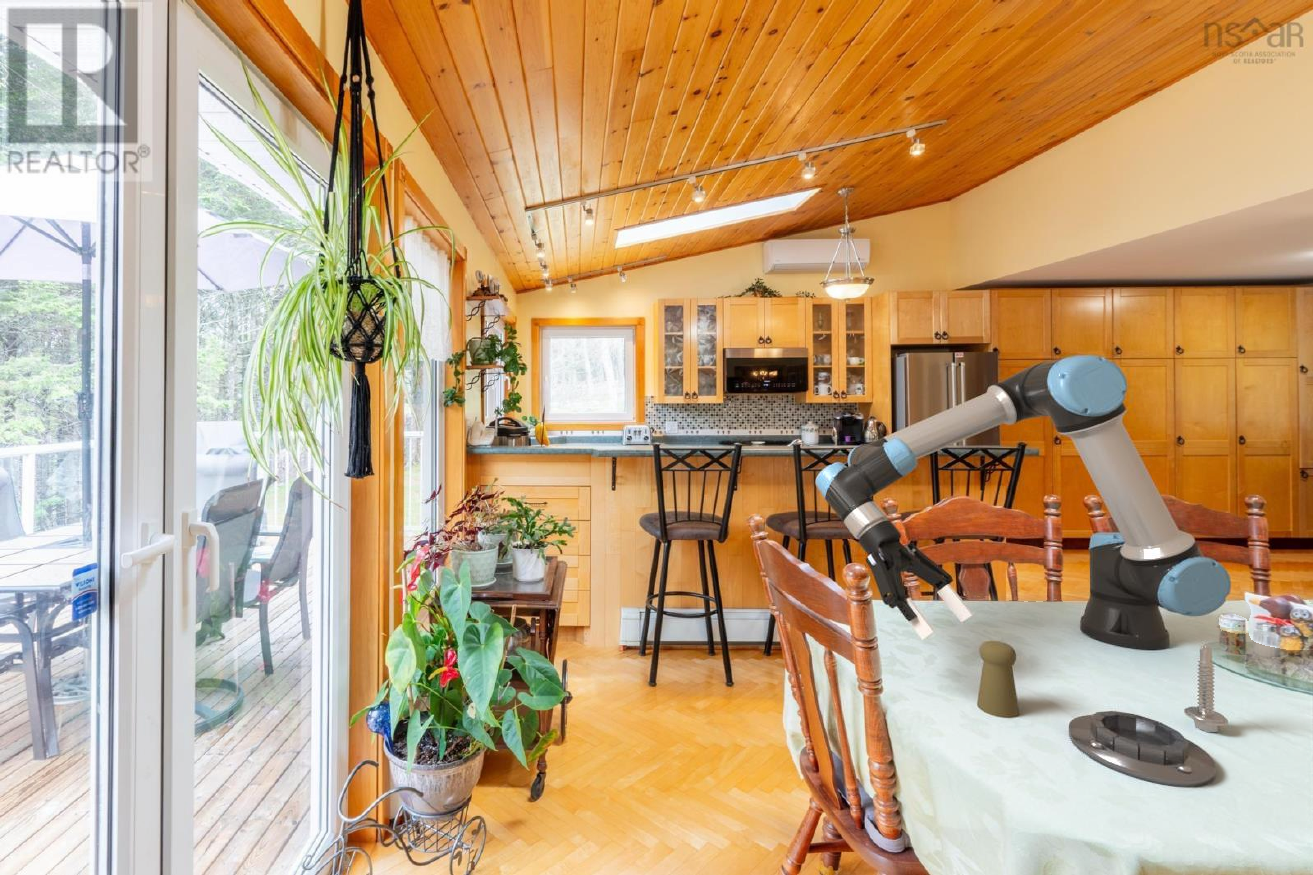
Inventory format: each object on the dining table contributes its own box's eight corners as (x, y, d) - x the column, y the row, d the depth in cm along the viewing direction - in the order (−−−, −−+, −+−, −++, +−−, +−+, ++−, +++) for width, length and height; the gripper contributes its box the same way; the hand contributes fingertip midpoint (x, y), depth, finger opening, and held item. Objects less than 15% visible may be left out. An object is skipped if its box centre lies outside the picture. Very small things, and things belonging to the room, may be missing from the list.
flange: (1134, 718, 90) (1134, 699, 90) (1250, 781, 74) (1250, 757, 74) (1042, 726, 88) (1042, 706, 88) (1140, 792, 72) (1141, 767, 72)
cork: (1019, 721, 90) (1019, 653, 89) (976, 711, 93) (975, 646, 93) (1018, 705, 95) (1018, 640, 94) (977, 696, 98) (977, 634, 98)
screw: (1185, 730, 86) (1182, 717, 90) (1230, 741, 83) (1225, 727, 87) (1186, 646, 86) (1183, 637, 90) (1230, 654, 83) (1225, 644, 87)
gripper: (895, 533, 121) (967, 622, 109) (822, 550, 106) (896, 654, 94) (919, 512, 116) (997, 601, 104) (846, 526, 102) (926, 632, 90)
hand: (949, 627), depth 99 cm, fingers open, 13 cm apart
